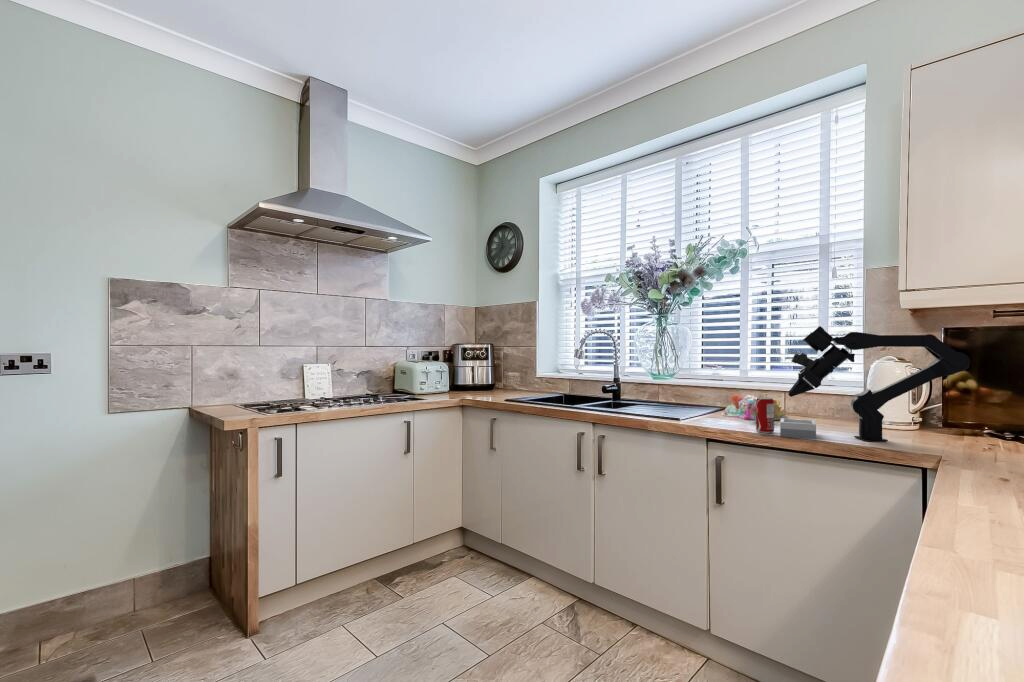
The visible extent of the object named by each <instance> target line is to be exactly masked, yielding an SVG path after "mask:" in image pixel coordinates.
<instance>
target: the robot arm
mask: <svg viewBox="0 0 1024 682" xmlns="http://www.w3.org/2000/svg"><path fill="white" fill-rule="evenodd" d="M802 341H803V342H804V343H805V344H807V346H809V347H810V348H811V349H812V350H813V351H815V352H818V351H820V352H821V353H822V354H821V355H820V356H819V357H815V359H812V358H809V357H808V354H806V353H804V352H801V353H800V354H799V353H797V352H795V353H794V355H793V356H792V359H791V363H792V364H793V363H794V364H798V365H800V366H802V367H803V368H801V369H800V370H799V372H798V375H797V380H796V381H795V383H794V384H793V386H791V388H790V389H789V391H788V394H787V395H788V396H789V397H791V398H792V397H794V396H798V395H800V394H803V393H806V392H810V391H812V390H815V389H817V388H818V387H820V386H821V385H822V381H823V380H824V379H825V378H826V377H827V376H828V375H830V374H832V373H833V372H834V370H835V369H837V368H838V367H839V366H841V365H842V364H843V363H844V362H845V361H847V360H848V361H850V362H851V363H854V362H855V356H856V353H850V352H849V351H848V350H850V351H851V350H853V351H858V350H867V349H871V348H872V349H873V348H880V347H884V348H887V347H888V348H889V347H890V348H894V347H895V348H898V347H900V348H902V347H903V348H904V347H905V348H908V347H909V348H912V347H913V348H914V347H915V348H920V347H921V348H924V349H925V350H926V351H927V352H929V353H930V354H931V355H932V356H933V357H934V358H935V359H934V360H933V361H931V362H930V363H929V364H928V365H927V366H925V367H923V368H922V369H920V370H917V371H915V372H913V373H911V374H909V375H908V376H905V377H903V378H901V379H899V380H897V381H894V382H893V383H890V384H889V385H886V386H885V387H883V388H880V389H878V390H874V391H872V390H871V389H869V388H866V389H865V390H863V391H862V392H860V393H855V394H854V396H853V398H852V399H851V400H850V401H851V402H850V407H851V409H852V410H853V412H855V413H856V414H857V415H858V416H859V418H858V435H854V436H853V437H854V438H855V439H859V440H862V441H865V442H888V439H886V438H884V437H883V420H884V418H885V415H884V414H883V413H881V412H880V411H879V409H881V408H882V407H883V406H884V405H885V404H886V403H888V402H889V401H892V400H893V399H895V398H897V397H900V396H902V395H903V394H904V395H905V394H906V393H908V392H910V391H913V390H914V389H915V390H916V389H917V388H919V387H921V386H923V385H925V384H927V383H929V382H931V381H934V380H935V379H938V378H942V377H946V376H951V375H954V374H958V373H960V372H965V370H967V369H968V368H969V367H970V364H971V359H970V357H969V356H968V355H967V354H966V353H964V352H961V351H960V352H959V351H956V350H955V349H954V348H953V347H951V346H949V344H947V343H945V342H944V341H942V340H940V339H939V338H938V336H936V335H935V334H931V333H929V334H928V333H927V334H899V335H898V334H891V335H889V334H886V335H884V334H872V333H866V332H860V331H859V332H858V331H851V332H850V331H849V332H848V333H845V334H844V335H843V336H834V337H833V336H832V335H831V334H829V333H828V332H827V331H826V330H825V329H824V328H823V327H822V326H821V325H819V326H818V327H817V328H816V329H814V330H813V331H812V332H810V333H808V335H806V336H805V337H804V338H803V339H802ZM835 344H836V345H841V346H843V347H841V348H839V347H837V346H836V345H835ZM830 346H831V347H830ZM829 347H830V348H829ZM845 348H846V349H845ZM826 349H827V350H826ZM847 349H848V350H847ZM823 352H824V353H823Z"/></svg>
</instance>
